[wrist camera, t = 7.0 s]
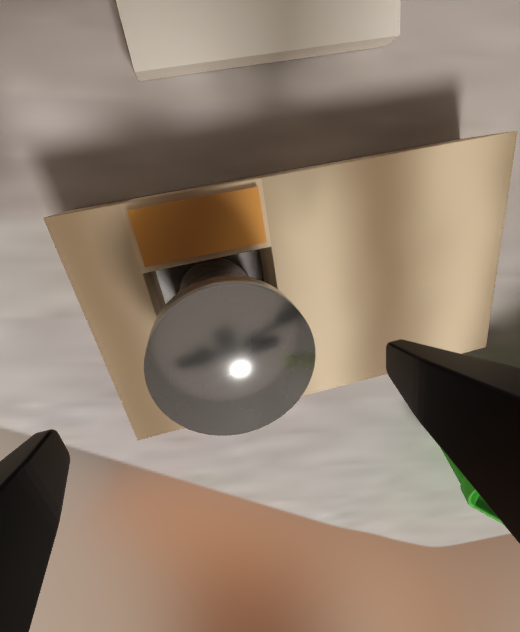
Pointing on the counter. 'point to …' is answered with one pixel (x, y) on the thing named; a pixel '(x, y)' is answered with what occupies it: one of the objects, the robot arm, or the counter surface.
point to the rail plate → (307, 257)
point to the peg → (227, 352)
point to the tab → (248, 32)
